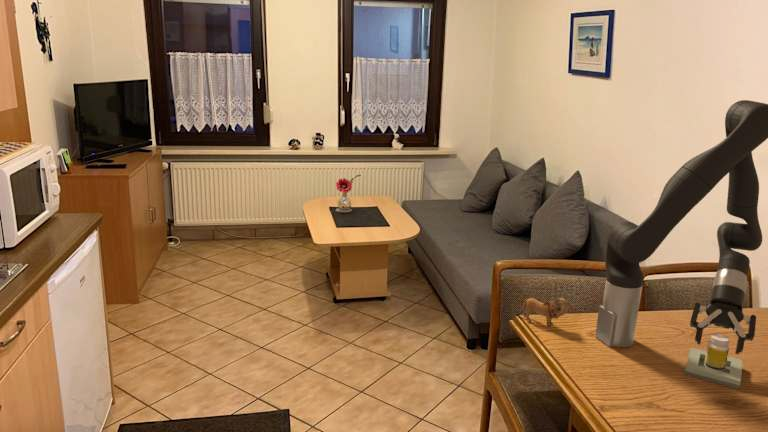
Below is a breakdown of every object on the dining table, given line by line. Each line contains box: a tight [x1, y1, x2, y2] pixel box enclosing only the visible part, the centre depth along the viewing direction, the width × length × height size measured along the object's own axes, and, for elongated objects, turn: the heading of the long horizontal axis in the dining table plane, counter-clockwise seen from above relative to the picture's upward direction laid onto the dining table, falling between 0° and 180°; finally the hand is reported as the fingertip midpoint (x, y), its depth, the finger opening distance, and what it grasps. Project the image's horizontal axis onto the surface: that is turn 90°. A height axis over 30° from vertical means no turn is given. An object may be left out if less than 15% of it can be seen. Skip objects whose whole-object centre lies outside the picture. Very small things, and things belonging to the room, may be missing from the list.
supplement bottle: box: [704, 333, 730, 371], centre depth 154 cm, size 5×5×8 cm
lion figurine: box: [515, 297, 568, 329], centre depth 178 cm, size 15×5×9 cm, turn 60°
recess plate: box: [684, 347, 743, 390], centre depth 155 cm, size 12×12×2 cm
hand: (717, 348), depth 152 cm, fingers open, 8 cm apart
